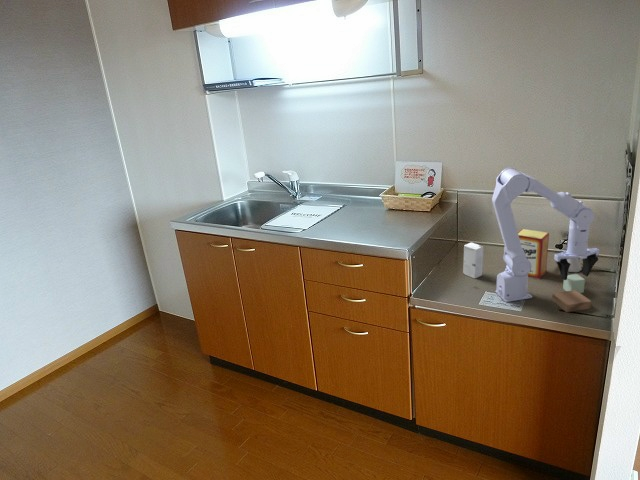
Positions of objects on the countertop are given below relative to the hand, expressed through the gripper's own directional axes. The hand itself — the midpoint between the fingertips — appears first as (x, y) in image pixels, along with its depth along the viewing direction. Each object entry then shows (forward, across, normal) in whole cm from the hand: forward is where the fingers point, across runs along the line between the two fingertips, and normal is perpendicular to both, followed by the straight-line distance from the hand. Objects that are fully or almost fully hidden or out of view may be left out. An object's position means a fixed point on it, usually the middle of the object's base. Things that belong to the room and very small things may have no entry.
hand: (574, 276), depth 156 cm
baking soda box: (+5, -6, +17) cm, 19 cm away
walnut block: (+6, -6, -8) cm, 11 cm away
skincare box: (+5, -26, +22) cm, 35 cm away
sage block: (+5, 0, 0) cm, 5 cm away
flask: (+5, +9, +15) cm, 18 cm away
